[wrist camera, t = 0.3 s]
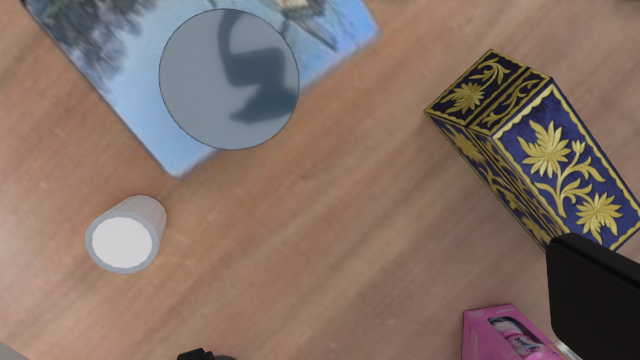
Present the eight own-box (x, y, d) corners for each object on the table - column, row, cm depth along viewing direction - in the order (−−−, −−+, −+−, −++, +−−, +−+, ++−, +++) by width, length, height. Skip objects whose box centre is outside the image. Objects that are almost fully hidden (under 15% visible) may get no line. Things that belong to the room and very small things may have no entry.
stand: (146, 85, 41) (128, 87, 35) (225, -11, 40) (220, -25, 34) (242, 162, 45) (240, 176, 39) (316, 77, 44) (326, 78, 38)
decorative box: (549, 258, 56) (603, 292, 48) (422, 111, 47) (460, 120, 38) (606, 206, 55) (671, 231, 47) (488, 46, 46) (542, 40, 38)
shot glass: (96, 220, 44) (68, 247, 38) (136, 177, 44) (114, 196, 37) (146, 255, 46) (128, 287, 40) (185, 215, 46) (173, 239, 39)
